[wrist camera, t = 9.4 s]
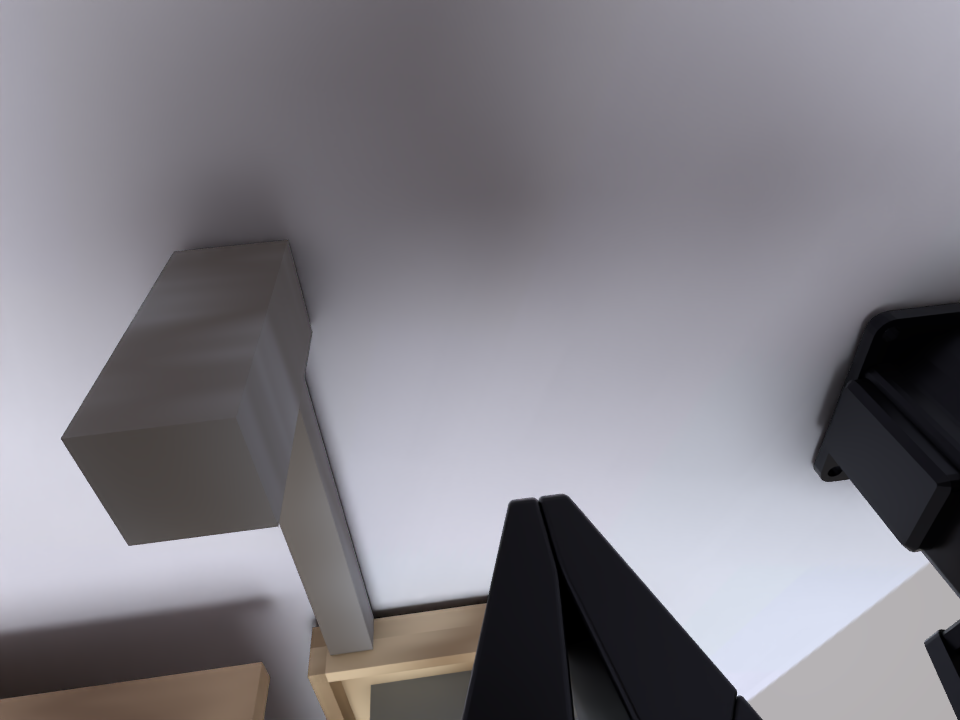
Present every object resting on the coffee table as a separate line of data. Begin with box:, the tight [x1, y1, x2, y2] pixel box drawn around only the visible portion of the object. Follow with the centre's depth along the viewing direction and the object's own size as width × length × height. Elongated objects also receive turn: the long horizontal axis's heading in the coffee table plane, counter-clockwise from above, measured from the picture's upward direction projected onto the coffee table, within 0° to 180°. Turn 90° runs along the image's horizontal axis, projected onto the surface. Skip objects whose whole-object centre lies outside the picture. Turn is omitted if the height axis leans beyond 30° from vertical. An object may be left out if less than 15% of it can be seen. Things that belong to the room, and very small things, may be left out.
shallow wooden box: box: [61, 240, 487, 720], centre depth 20 cm, size 11×27×6 cm, turn 3°
